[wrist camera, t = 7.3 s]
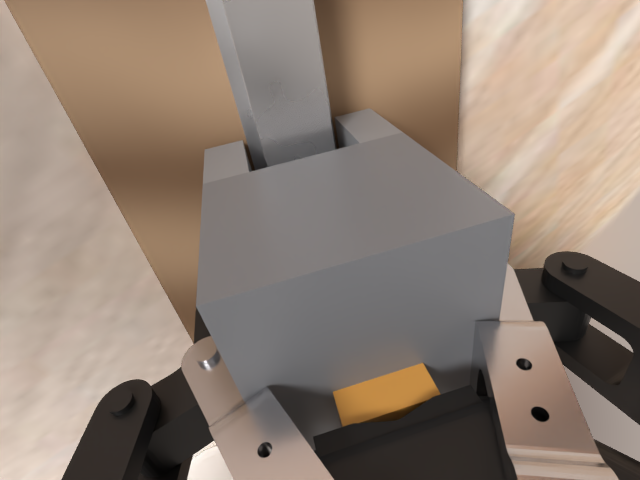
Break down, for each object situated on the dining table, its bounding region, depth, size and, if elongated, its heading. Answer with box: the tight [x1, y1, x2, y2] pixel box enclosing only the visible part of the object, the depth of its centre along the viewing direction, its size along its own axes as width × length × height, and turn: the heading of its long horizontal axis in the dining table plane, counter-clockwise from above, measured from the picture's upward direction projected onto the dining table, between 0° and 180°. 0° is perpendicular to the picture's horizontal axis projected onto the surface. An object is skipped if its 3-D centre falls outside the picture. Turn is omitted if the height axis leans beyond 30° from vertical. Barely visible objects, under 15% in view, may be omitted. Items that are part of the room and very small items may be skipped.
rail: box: [205, 0, 336, 170], centre depth 12 cm, size 25×3×2 cm, turn 10°
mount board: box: [4, 0, 463, 343], centre depth 13 cm, size 26×12×1 cm, turn 10°
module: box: [196, 108, 515, 451], centre depth 11 cm, size 8×5×8 cm
